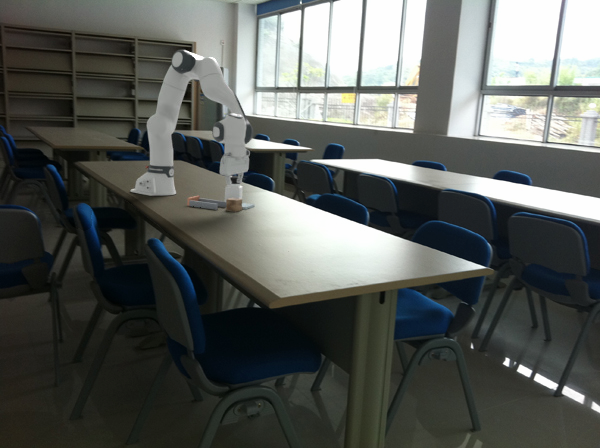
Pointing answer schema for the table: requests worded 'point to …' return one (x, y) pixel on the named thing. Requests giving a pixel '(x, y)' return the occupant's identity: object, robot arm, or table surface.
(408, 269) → the table surface
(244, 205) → the tile
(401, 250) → the table surface
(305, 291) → the table surface
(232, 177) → the medicine bottle
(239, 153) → the robot arm
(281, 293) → the table surface
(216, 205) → the channel
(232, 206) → the block
